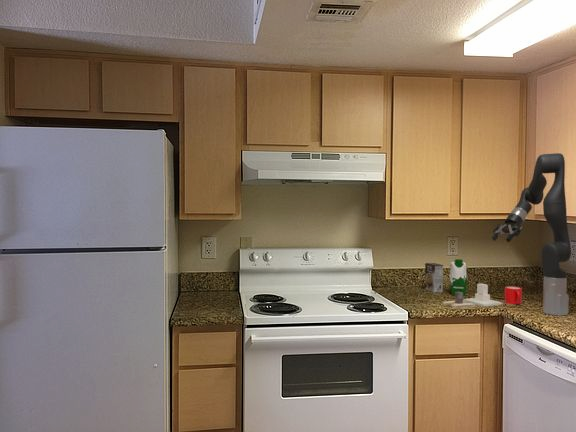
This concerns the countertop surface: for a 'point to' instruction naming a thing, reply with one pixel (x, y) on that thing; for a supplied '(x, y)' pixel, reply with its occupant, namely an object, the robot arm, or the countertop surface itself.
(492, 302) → the tile
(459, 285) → the milk carton
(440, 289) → the coffee box
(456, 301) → the post stand
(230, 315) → the countertop surface
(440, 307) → the countertop surface
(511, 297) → the mug
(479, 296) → the white stepped block
